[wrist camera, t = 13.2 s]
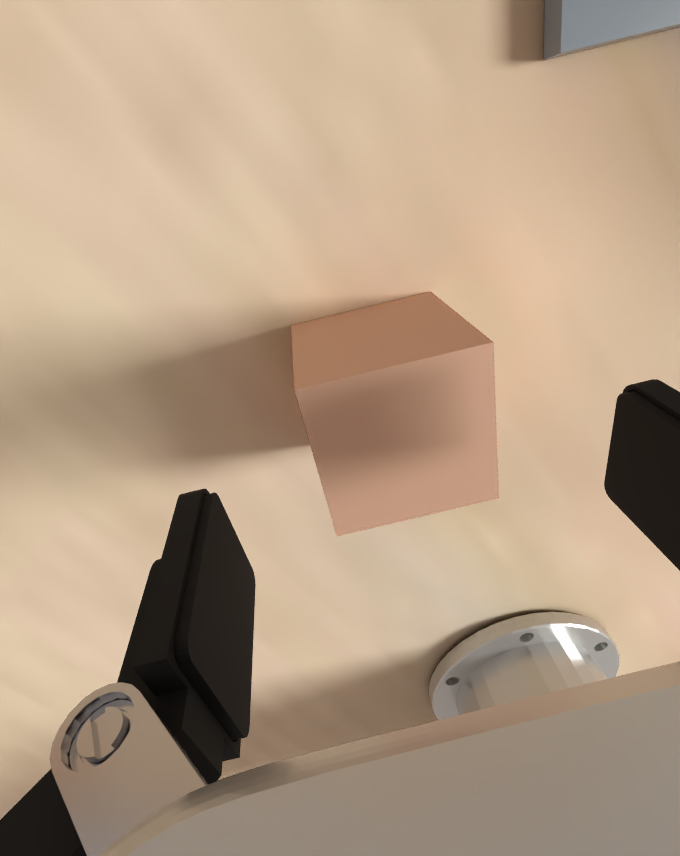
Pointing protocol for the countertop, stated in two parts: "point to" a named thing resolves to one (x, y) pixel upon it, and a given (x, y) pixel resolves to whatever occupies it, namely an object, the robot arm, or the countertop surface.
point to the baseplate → (603, 22)
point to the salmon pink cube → (397, 410)
